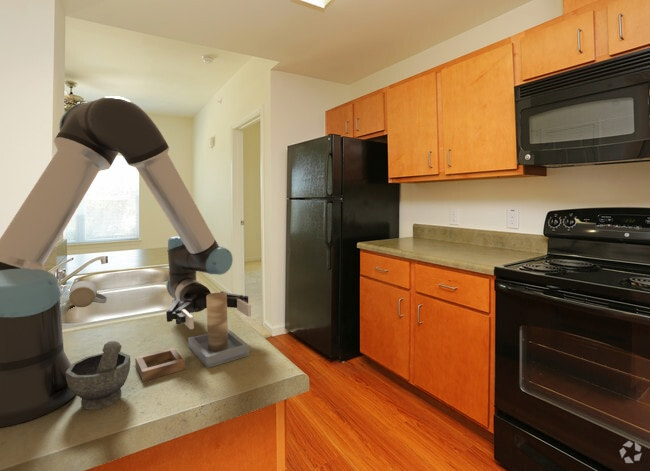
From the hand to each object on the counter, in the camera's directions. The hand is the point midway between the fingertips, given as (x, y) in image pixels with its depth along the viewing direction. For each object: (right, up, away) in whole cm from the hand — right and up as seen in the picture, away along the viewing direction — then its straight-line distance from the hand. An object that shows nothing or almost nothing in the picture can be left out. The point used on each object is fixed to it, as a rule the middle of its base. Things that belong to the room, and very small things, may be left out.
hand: (222, 316), depth 80 cm
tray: (-2, -9, +4) cm, 10 cm away
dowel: (-2, -8, +3) cm, 9 cm away
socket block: (-12, -10, -4) cm, 16 cm away
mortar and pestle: (-17, -12, -17) cm, 26 cm away
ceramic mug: (-58, -5, +40) cm, 70 cm away
